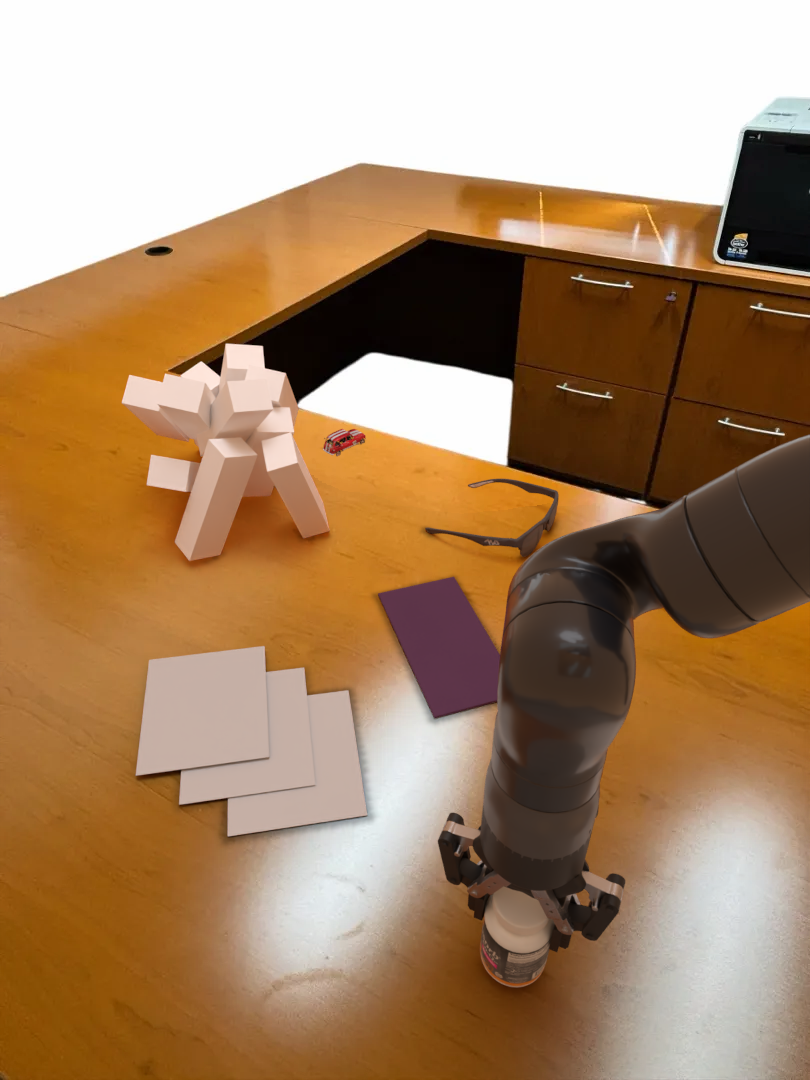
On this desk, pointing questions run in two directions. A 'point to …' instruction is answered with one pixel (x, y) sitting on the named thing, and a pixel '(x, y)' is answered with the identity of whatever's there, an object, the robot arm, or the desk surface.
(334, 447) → the toy car
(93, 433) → the desk surface
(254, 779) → the paper stack
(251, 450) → the pile of blocks
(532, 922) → the pill bottle
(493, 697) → the cloth
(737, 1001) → the desk surface
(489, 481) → the sunglasses
